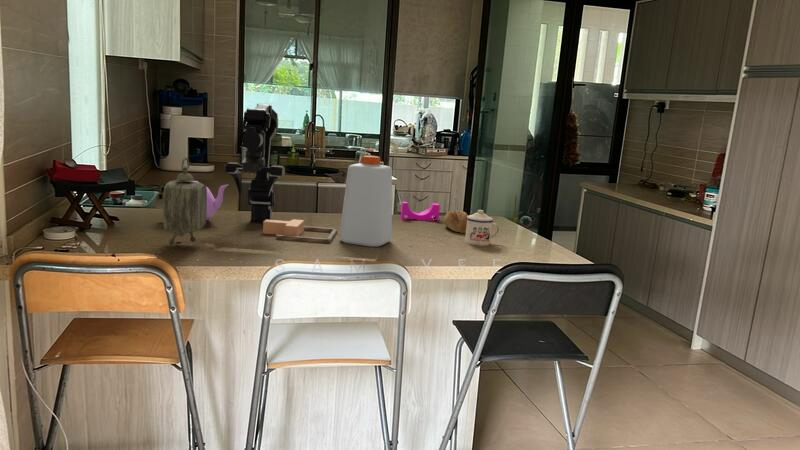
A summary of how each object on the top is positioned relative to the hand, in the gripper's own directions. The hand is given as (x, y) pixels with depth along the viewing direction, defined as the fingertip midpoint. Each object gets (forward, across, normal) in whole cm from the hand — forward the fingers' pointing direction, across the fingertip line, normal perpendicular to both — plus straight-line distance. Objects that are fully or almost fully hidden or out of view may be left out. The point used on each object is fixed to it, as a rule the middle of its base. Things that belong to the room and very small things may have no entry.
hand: (254, 195), depth 198 cm
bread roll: (+12, +71, +27) cm, 77 cm away
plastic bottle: (+12, +38, -3) cm, 40 cm away
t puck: (+12, +10, 0) cm, 16 cm away
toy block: (+12, +57, +44) cm, 73 cm away
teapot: (+12, -23, +12) cm, 28 cm away
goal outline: (+12, +19, -1) cm, 22 cm away
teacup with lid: (+12, +78, +7) cm, 79 cm away
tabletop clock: (+12, -15, -22) cm, 29 cm away
